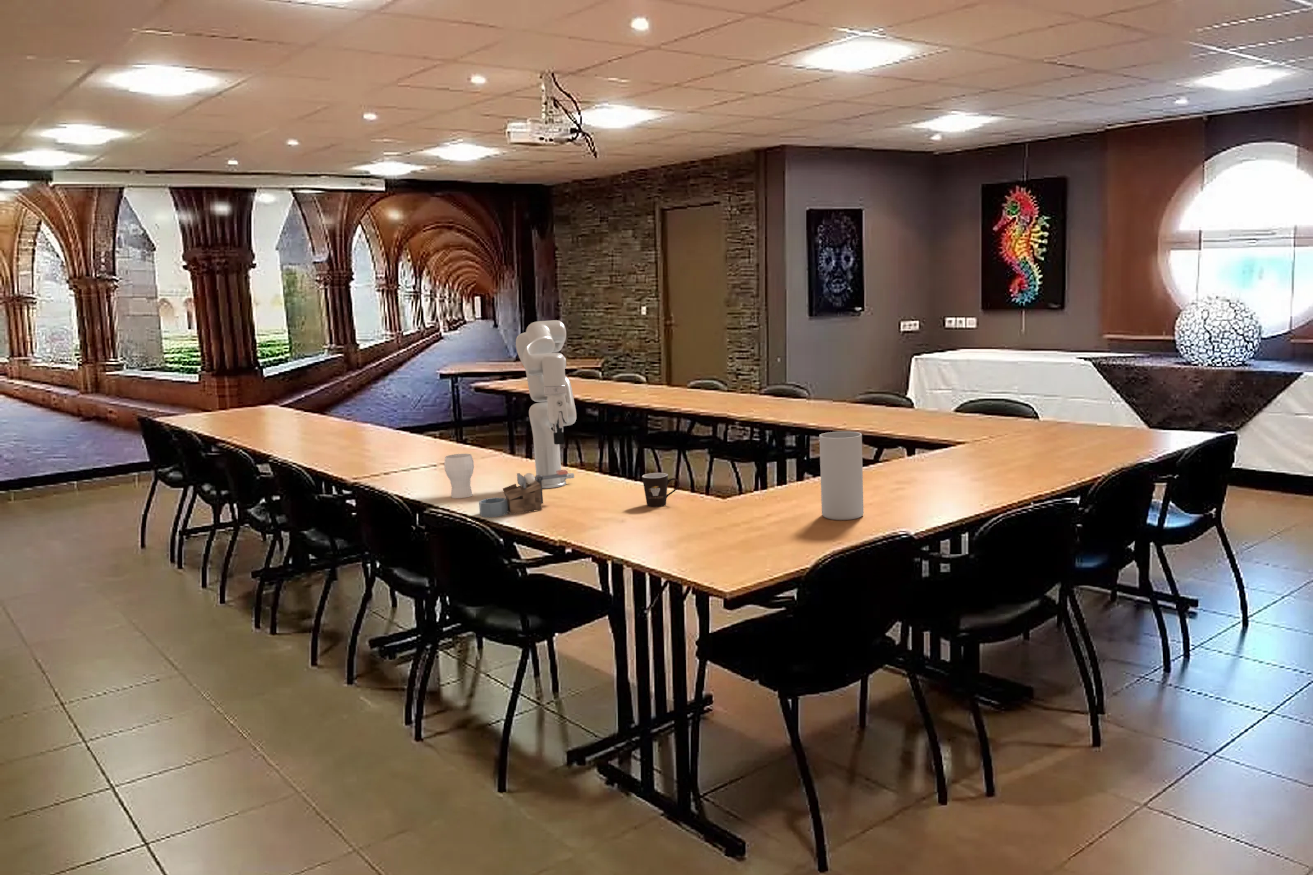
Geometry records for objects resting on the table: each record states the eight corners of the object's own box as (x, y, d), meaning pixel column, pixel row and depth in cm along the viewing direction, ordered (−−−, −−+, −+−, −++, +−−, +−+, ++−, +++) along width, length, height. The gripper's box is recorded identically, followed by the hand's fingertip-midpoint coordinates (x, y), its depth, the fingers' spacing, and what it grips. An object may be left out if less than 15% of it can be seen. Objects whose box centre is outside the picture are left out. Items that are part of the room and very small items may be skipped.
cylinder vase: (860, 521, 292) (858, 438, 288) (818, 520, 296) (815, 438, 293) (866, 511, 304) (864, 431, 300) (826, 510, 308) (823, 431, 304)
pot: (504, 509, 335) (503, 496, 334) (509, 514, 327) (508, 501, 326) (478, 512, 332) (477, 499, 331) (483, 518, 324) (481, 504, 323)
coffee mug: (639, 507, 327) (637, 477, 326) (651, 501, 335) (649, 472, 333) (670, 509, 322) (668, 479, 320) (681, 503, 329) (680, 473, 328)
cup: (469, 499, 355) (466, 458, 353) (442, 499, 357) (438, 458, 355) (480, 492, 365) (477, 453, 363) (454, 493, 368) (450, 453, 365)
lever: (565, 476, 343) (565, 467, 343) (573, 482, 333) (573, 472, 333) (517, 482, 338) (516, 472, 337) (523, 488, 328) (522, 478, 327)
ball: (534, 482, 335) (532, 470, 334) (537, 484, 331) (534, 472, 330) (523, 485, 334) (520, 474, 333) (525, 487, 330) (523, 476, 329)
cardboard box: (542, 502, 343) (540, 474, 341) (550, 509, 332) (548, 480, 330) (501, 507, 338) (499, 479, 337) (508, 514, 327) (506, 485, 326)
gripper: (571, 391, 331) (575, 445, 333) (560, 388, 345) (564, 440, 347) (549, 393, 328) (553, 447, 331) (539, 390, 342) (543, 442, 345)
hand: (559, 443), depth 339 cm, fingers closed
